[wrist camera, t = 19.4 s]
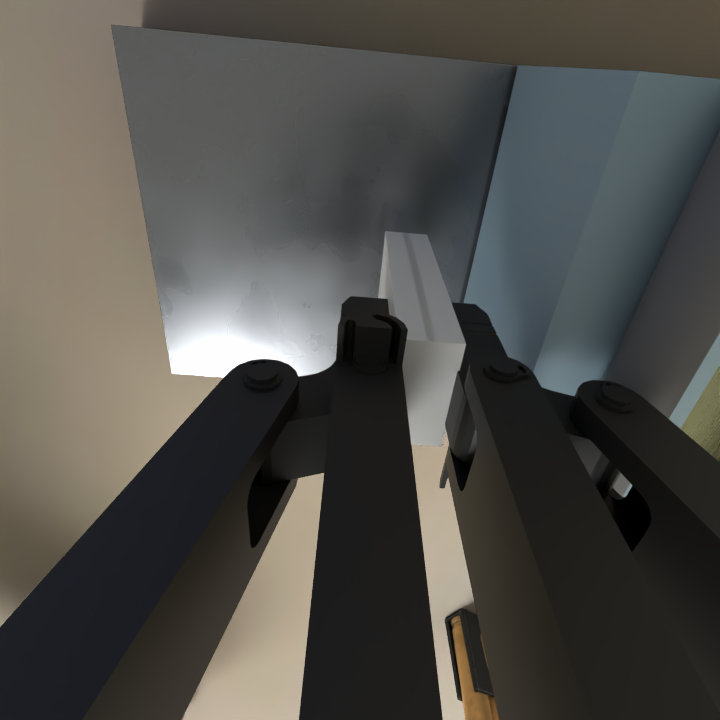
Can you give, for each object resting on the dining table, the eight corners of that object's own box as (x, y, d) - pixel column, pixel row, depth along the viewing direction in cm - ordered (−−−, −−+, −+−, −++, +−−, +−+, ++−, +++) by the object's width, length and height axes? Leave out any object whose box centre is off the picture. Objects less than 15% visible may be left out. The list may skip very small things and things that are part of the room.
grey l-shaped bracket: (187, 348, 21) (81, 517, 13) (140, 28, 15) (-121, -6, 7) (736, 391, 22) (937, 574, 14) (926, 107, 15) (1496, 157, 8)
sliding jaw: (441, 398, 20) (481, 588, 13) (518, 64, 13) (692, 73, 6) (534, 405, 20) (625, 598, 13) (655, 79, 13) (986, 102, 6)
